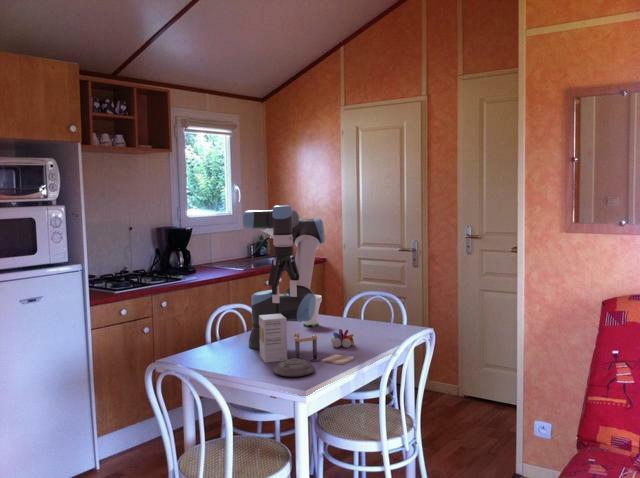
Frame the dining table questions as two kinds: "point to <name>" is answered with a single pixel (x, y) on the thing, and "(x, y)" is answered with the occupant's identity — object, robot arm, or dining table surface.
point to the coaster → (338, 359)
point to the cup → (314, 320)
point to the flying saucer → (294, 367)
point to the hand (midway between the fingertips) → (284, 299)
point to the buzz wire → (297, 340)
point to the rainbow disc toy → (342, 339)
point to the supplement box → (273, 337)
